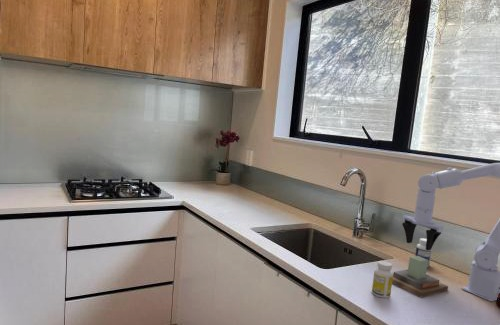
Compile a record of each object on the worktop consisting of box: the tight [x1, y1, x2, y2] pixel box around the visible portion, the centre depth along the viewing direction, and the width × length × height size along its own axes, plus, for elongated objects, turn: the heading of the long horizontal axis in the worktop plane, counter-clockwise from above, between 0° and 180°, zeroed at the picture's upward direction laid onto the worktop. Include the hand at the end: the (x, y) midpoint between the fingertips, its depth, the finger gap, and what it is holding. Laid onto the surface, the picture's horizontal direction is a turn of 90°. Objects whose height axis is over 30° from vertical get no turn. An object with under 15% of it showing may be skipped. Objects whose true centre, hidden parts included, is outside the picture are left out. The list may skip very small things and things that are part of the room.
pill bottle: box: [414, 237, 433, 268], centre depth 147 cm, size 5×5×10 cm
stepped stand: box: [392, 268, 449, 298], centre depth 126 cm, size 14×14×3 cm
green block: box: [407, 255, 428, 279], centre depth 125 cm, size 4×4×6 cm
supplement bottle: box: [371, 260, 394, 299], centre depth 115 cm, size 5×5×10 cm
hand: (418, 246), depth 134 cm, fingers open, 7 cm apart
